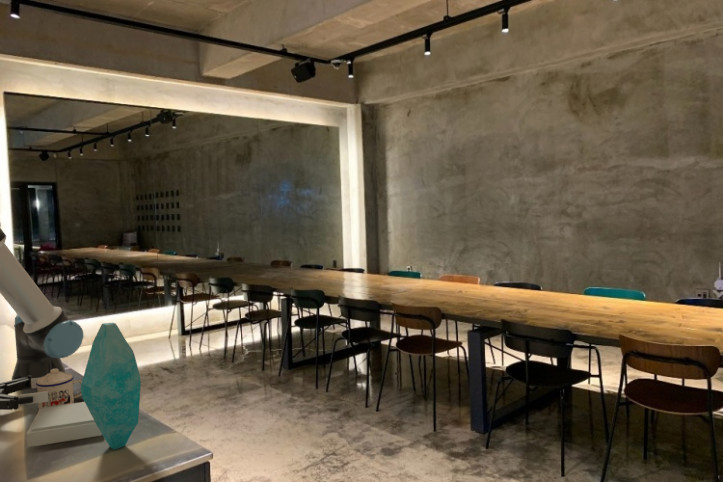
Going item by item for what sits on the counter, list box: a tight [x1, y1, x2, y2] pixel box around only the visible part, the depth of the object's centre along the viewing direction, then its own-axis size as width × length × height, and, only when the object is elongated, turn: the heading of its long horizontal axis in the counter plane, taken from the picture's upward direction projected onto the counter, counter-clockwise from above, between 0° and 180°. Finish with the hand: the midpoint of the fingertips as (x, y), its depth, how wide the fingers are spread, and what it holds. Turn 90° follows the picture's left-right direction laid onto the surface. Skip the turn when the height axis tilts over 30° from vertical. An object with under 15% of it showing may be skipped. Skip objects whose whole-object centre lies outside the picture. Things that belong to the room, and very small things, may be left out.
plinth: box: [25, 401, 103, 448], centre depth 134 cm, size 16×16×4 cm
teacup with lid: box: [36, 369, 82, 411], centre depth 147 cm, size 12×9×12 cm
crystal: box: [80, 322, 142, 450], centre depth 122 cm, size 12×14×30 cm
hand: (52, 388), depth 146 cm, fingers open, 13 cm apart
